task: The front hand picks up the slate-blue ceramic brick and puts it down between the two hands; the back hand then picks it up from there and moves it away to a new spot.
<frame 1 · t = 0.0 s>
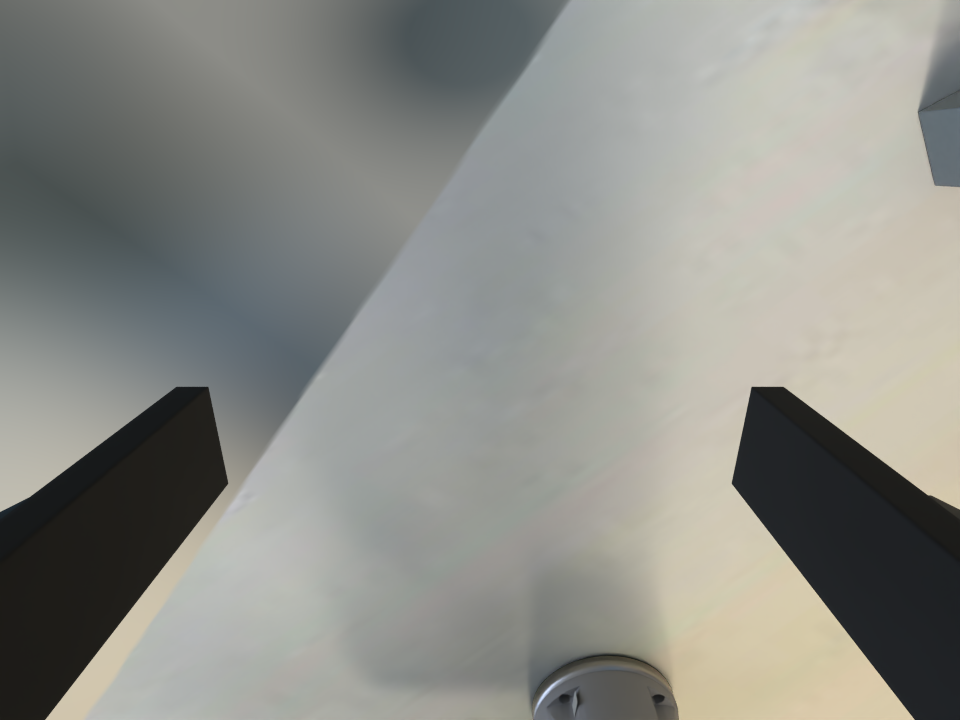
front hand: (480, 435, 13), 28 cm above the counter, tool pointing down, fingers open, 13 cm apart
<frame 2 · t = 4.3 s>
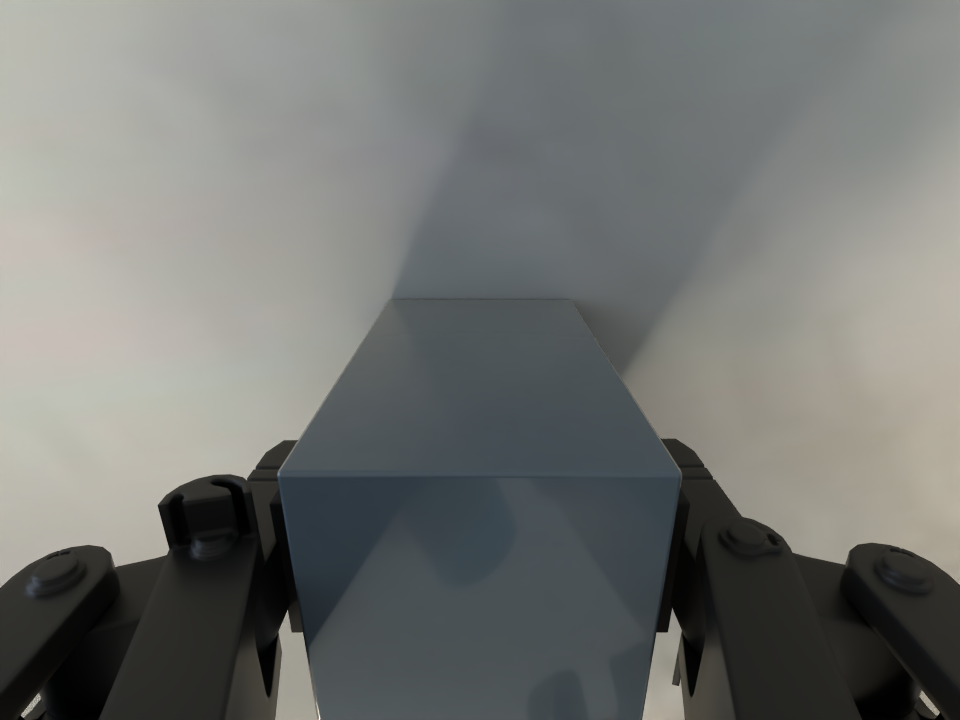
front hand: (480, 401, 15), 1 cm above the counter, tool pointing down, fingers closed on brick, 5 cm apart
brick: (479, 389, 15), on the counter, touching front hand
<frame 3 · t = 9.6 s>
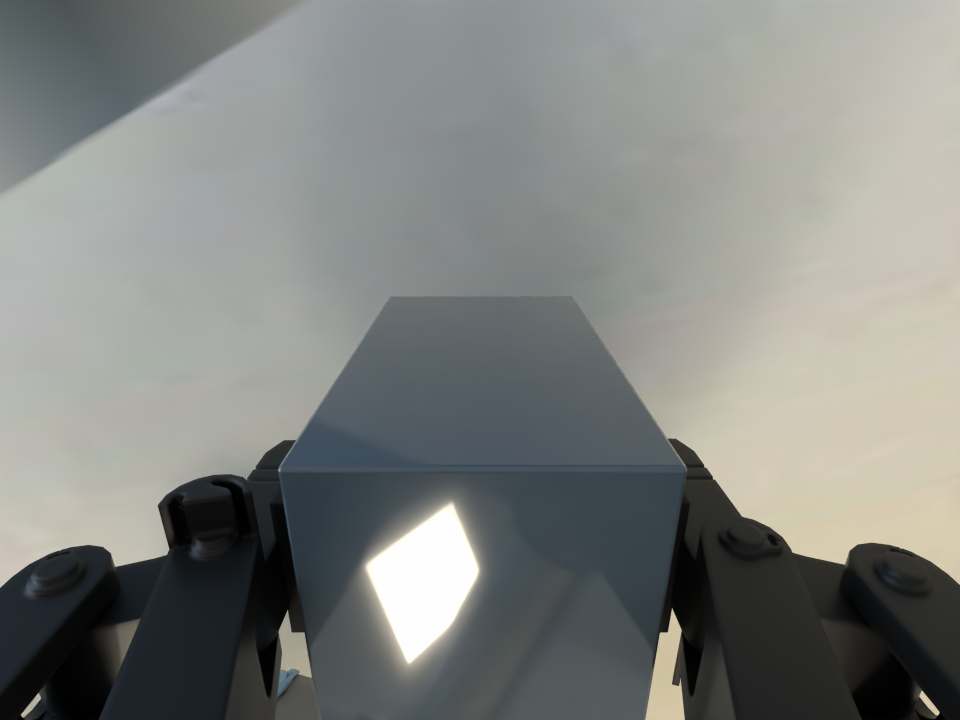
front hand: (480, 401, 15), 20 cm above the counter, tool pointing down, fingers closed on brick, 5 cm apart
brick: (481, 386, 15), point 19 cm above the counter, touching front hand
when the front hand's fingers open (3 cm above the counter, at t = 14.8 s): brick drops 2 cm, on the counter.
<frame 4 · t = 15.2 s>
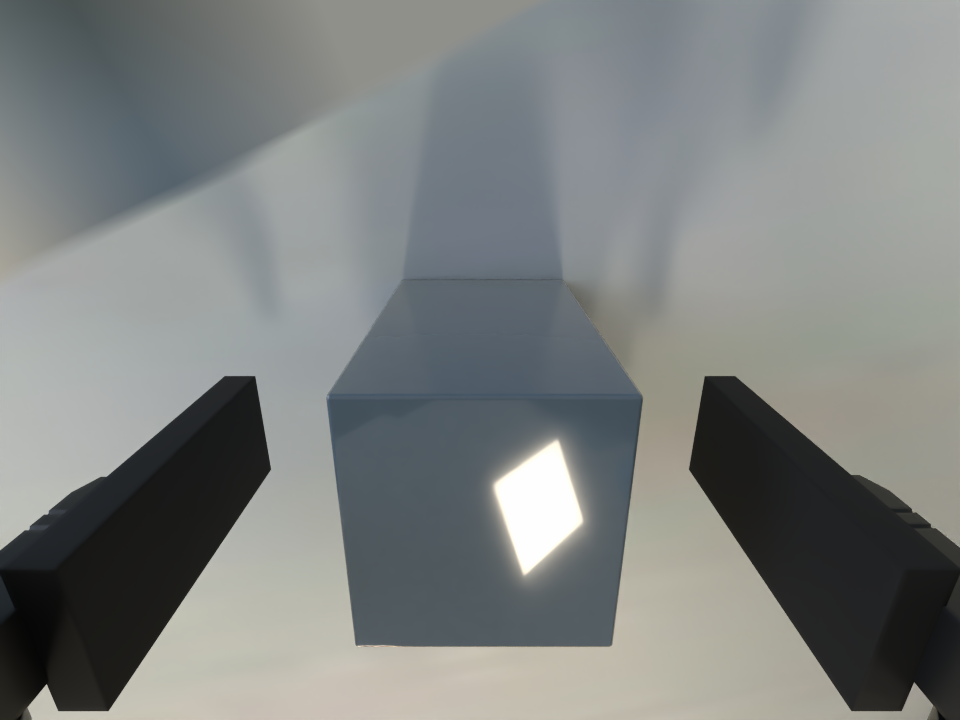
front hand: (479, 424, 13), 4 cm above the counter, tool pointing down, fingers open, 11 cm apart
brick: (482, 361, 17), on the counter
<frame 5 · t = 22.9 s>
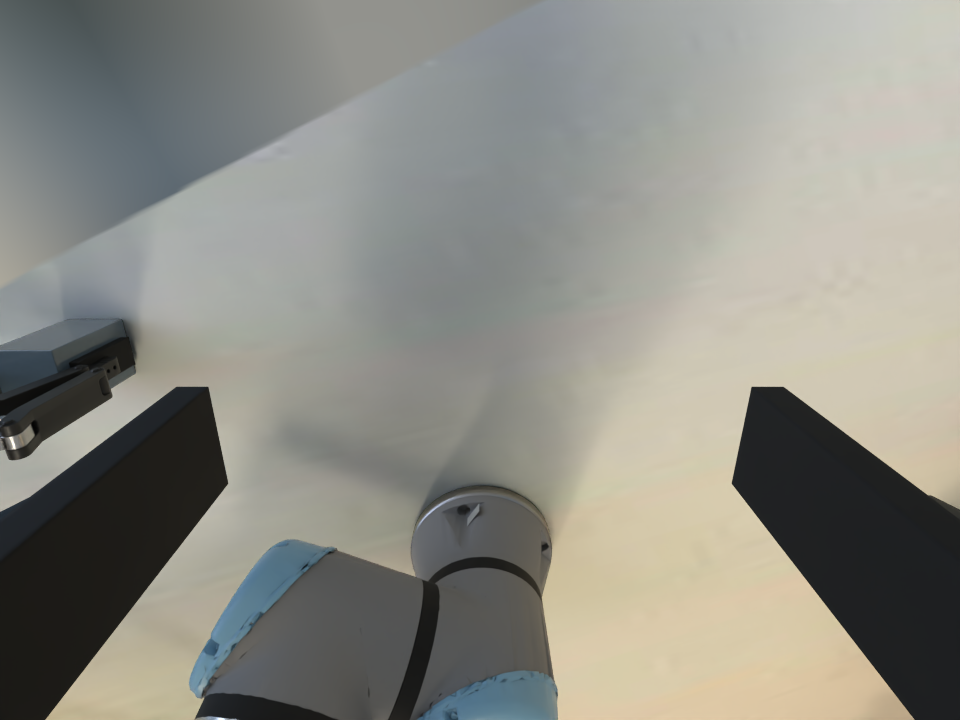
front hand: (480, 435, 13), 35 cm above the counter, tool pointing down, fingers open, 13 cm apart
brick: (102, 346, 49), on the counter, touching back hand
when the back hand's fingers open (3 cm above the counter, at t = 27.7 s): brick drops 2 cm, on the counter.
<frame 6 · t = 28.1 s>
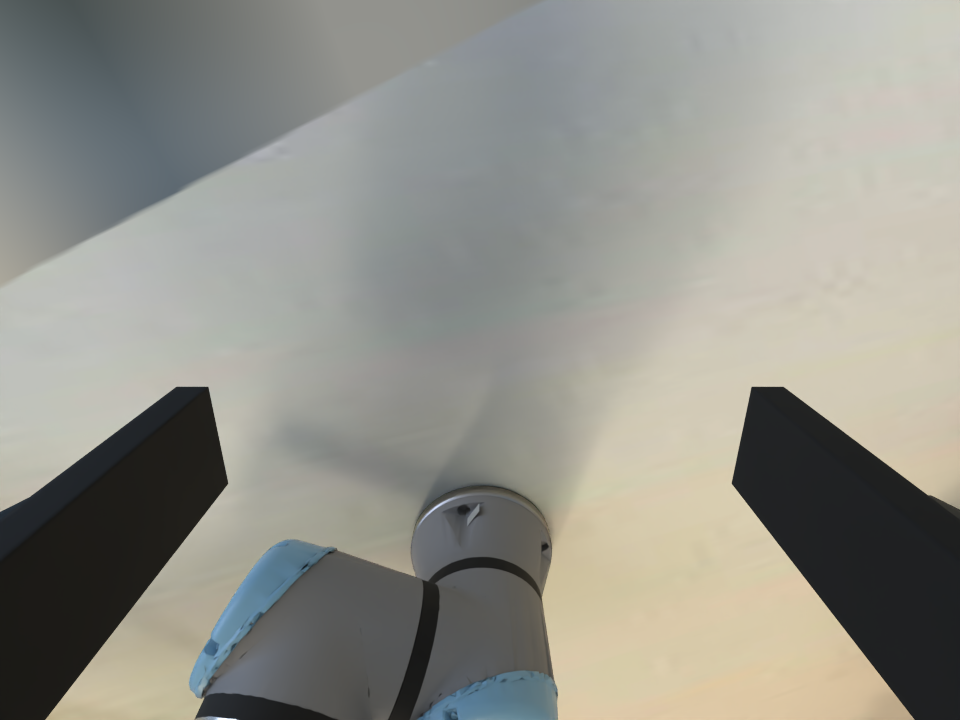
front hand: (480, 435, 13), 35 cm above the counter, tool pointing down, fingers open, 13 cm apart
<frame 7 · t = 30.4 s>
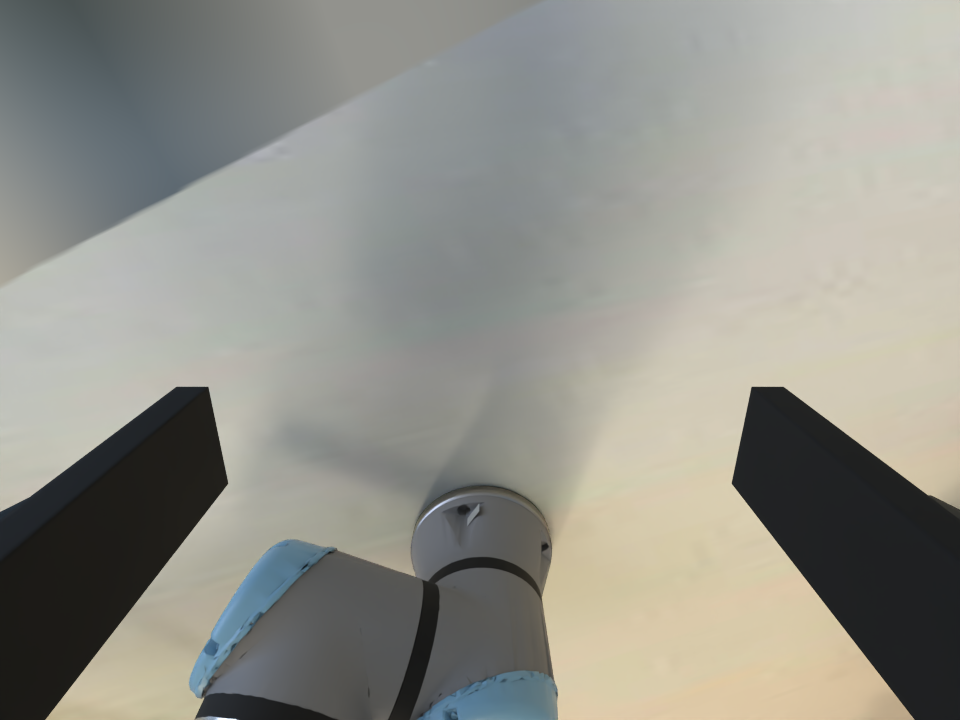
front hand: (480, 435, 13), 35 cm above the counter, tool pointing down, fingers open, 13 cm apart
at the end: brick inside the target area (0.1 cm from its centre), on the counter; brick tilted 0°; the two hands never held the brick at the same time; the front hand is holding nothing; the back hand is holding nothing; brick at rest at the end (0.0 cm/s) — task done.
